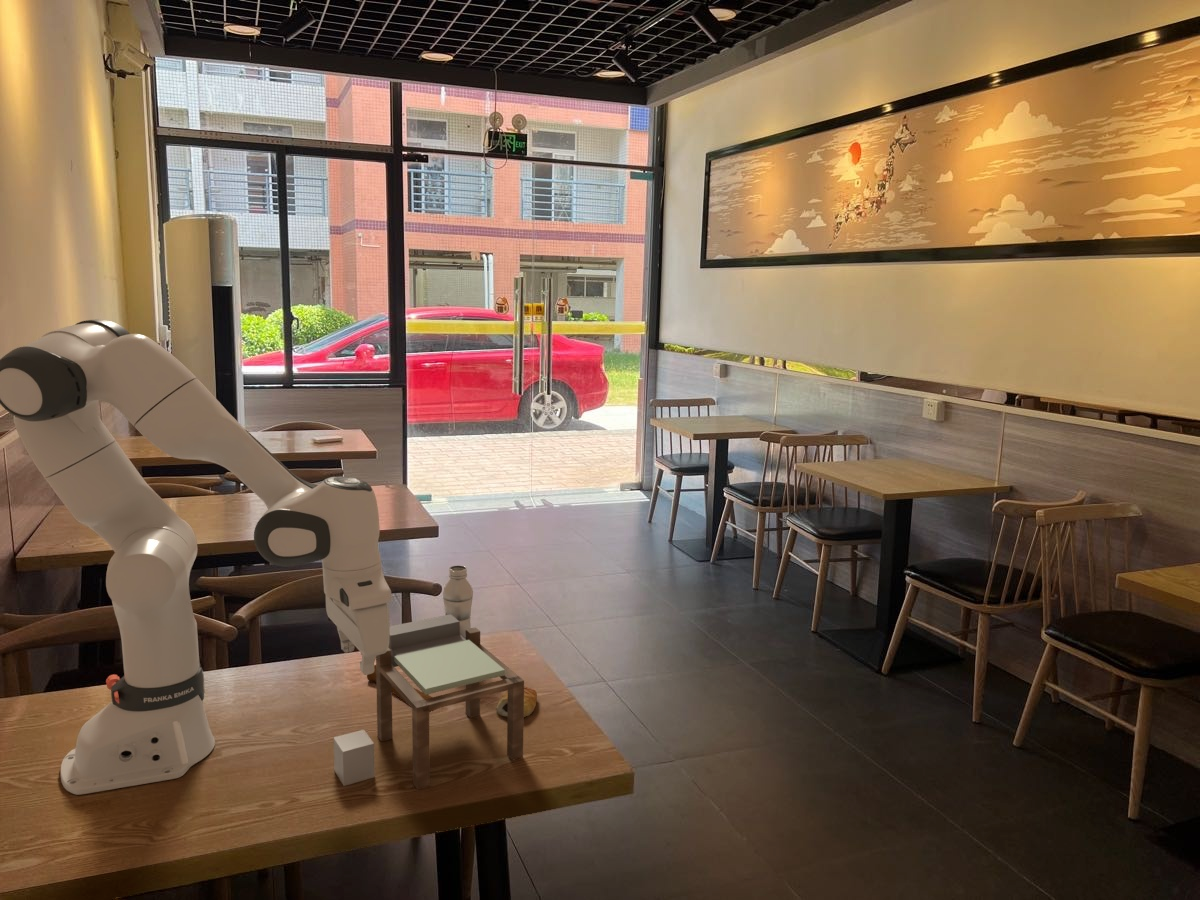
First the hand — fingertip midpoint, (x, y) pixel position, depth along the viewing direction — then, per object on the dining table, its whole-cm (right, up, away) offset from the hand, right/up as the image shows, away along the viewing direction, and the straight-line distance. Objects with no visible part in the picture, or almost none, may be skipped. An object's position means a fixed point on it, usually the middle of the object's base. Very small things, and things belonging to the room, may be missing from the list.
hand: (357, 661), depth 138 cm
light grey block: (-1, -19, +2) cm, 19 cm away
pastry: (+23, -15, +25) cm, 38 cm away
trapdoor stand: (+13, -17, +11) cm, 24 cm away
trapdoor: (+11, -5, +12) cm, 17 cm away
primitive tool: (+1, -14, +30) cm, 33 cm away
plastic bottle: (+9, -11, +46) cm, 48 cm away
